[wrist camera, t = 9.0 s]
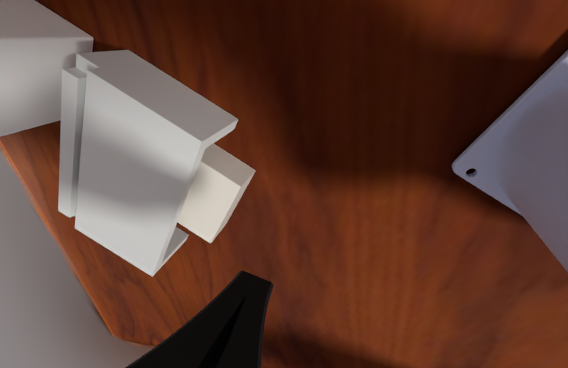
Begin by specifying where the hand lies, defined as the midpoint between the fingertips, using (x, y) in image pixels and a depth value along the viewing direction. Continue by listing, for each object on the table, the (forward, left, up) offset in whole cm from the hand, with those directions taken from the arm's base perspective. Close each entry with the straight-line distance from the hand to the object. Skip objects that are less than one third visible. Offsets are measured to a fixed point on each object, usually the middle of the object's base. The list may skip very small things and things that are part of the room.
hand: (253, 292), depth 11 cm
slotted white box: (+10, +5, -9) cm, 15 cm away
